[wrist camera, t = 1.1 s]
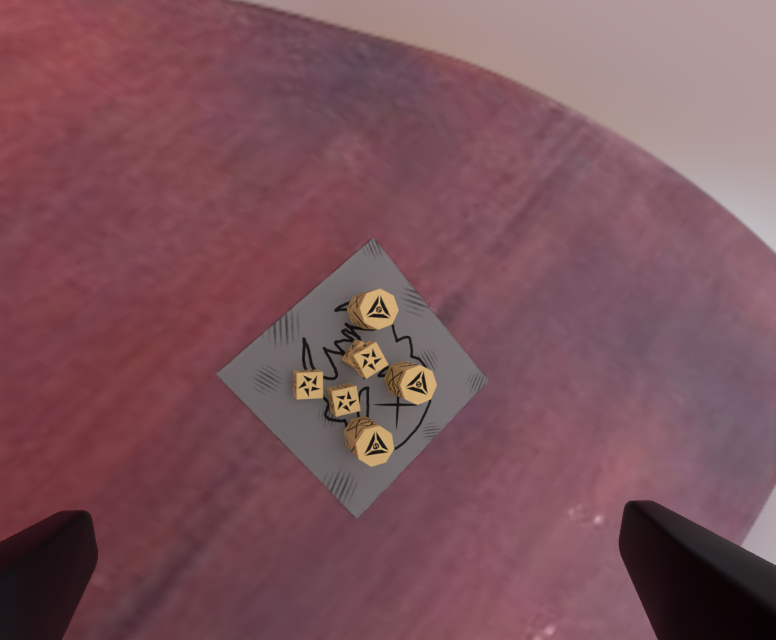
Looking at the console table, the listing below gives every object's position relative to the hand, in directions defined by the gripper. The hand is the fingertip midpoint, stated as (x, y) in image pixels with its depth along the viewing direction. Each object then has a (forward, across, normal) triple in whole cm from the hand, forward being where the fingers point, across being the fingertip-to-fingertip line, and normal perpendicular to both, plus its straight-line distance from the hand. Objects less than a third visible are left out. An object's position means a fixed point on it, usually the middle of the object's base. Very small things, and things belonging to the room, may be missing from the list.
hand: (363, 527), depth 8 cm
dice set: (+11, 0, +2) cm, 11 cm away
